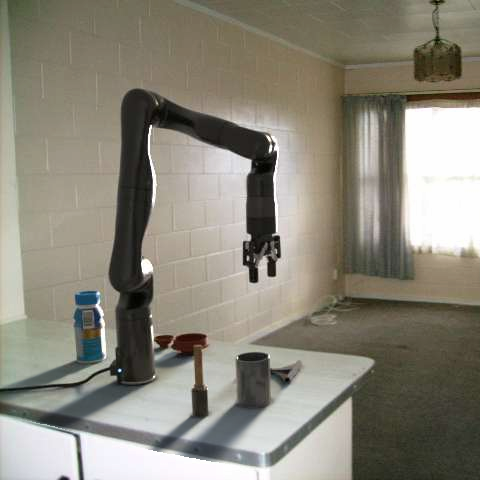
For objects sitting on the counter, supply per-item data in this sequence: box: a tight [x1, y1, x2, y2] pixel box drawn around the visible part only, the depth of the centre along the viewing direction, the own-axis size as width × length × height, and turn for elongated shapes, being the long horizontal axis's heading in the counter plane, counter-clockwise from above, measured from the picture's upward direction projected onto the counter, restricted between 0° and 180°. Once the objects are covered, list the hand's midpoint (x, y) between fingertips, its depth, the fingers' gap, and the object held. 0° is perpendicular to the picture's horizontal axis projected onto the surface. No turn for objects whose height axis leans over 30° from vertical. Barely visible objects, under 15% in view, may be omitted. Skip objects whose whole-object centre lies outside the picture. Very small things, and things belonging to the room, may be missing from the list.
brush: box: [190, 345, 210, 418], centre depth 143 cm, size 4×4×16 cm
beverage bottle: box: [73, 290, 107, 364], centre depth 185 cm, size 8×8×20 cm
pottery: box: [153, 332, 211, 356], centre depth 194 cm, size 12×20×4 cm, turn 59°
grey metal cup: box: [234, 351, 272, 409], centre depth 150 cm, size 8×8×11 cm
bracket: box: [270, 360, 303, 384], centre depth 171 cm, size 14×15×3 cm
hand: (263, 279), depth 157 cm, fingers open, 8 cm apart
